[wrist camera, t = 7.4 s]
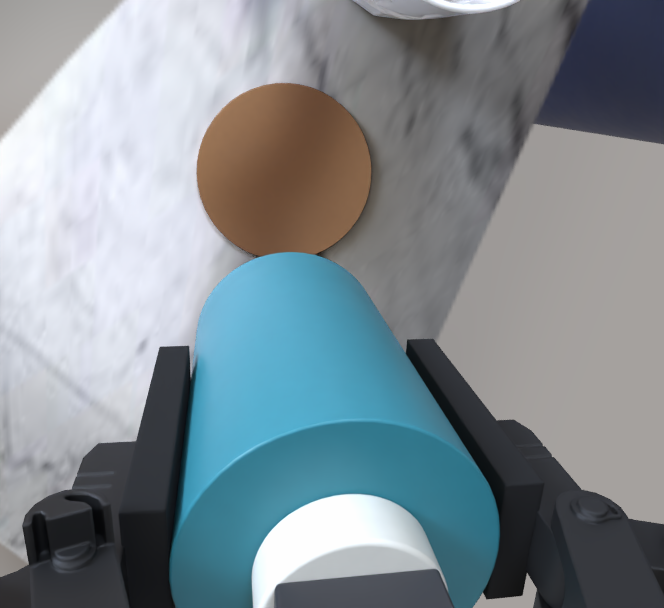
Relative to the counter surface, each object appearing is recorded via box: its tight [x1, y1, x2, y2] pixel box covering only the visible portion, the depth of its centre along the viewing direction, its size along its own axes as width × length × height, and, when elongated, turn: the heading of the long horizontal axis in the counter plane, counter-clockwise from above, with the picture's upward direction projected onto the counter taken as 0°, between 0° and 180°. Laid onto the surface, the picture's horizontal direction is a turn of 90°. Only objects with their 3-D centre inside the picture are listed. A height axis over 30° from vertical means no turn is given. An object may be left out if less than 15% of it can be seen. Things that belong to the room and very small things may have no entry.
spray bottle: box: [169, 252, 500, 608], centre depth 14 cm, size 7×6×14 cm
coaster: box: [197, 83, 371, 257], centre depth 31 cm, size 9×9×1 cm
